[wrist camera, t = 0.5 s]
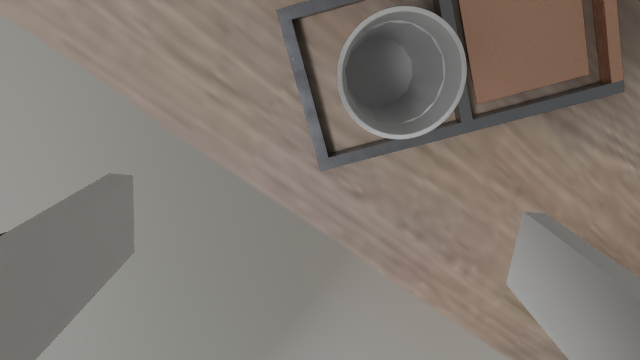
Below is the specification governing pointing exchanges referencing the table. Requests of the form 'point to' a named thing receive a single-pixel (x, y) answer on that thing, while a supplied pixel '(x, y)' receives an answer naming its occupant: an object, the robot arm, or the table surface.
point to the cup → (401, 72)
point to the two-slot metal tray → (489, 63)
